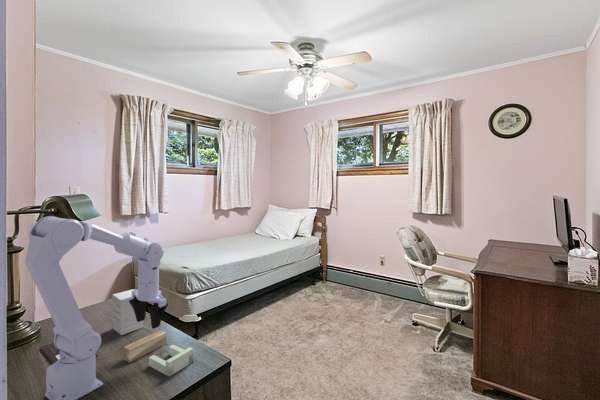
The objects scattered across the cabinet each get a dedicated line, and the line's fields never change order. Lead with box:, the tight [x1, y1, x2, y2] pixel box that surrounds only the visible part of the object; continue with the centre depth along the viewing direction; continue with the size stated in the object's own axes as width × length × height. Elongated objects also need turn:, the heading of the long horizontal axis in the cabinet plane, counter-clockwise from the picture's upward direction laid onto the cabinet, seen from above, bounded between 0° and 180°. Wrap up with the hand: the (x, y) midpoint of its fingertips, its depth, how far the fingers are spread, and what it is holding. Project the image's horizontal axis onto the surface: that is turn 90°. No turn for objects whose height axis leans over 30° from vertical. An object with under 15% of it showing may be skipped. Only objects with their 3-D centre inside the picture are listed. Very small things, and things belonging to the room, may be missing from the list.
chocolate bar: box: [39, 342, 98, 364], centre depth 90 cm, size 9×1×18 cm
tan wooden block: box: [123, 329, 167, 364], centre depth 92 cm, size 3×12×4 cm, turn 151°
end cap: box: [148, 344, 194, 377], centre depth 86 cm, size 8×9×4 cm
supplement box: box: [112, 289, 144, 336], centre depth 105 cm, size 7×7×13 cm
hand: (148, 323), depth 92 cm, fingers open, 7 cm apart
